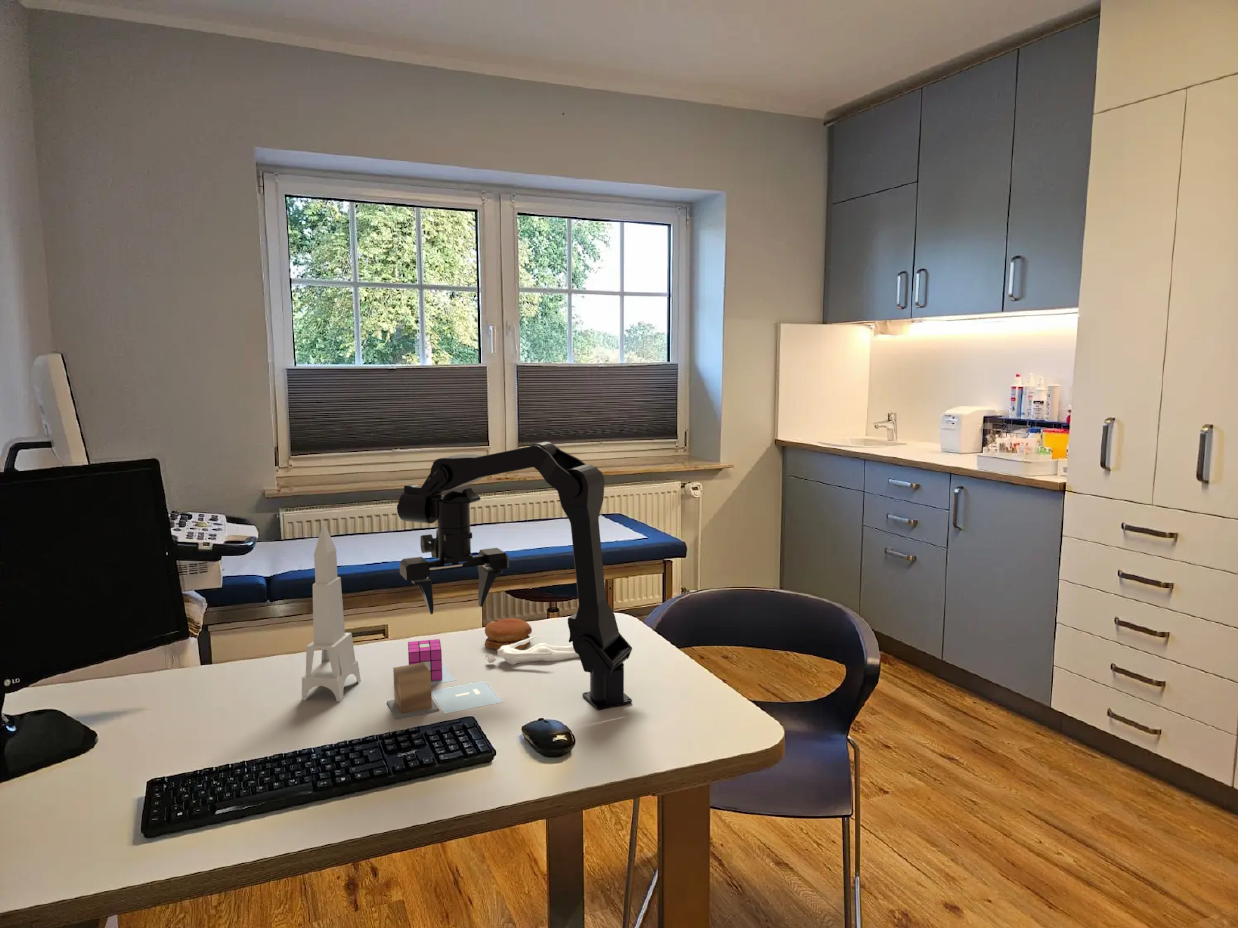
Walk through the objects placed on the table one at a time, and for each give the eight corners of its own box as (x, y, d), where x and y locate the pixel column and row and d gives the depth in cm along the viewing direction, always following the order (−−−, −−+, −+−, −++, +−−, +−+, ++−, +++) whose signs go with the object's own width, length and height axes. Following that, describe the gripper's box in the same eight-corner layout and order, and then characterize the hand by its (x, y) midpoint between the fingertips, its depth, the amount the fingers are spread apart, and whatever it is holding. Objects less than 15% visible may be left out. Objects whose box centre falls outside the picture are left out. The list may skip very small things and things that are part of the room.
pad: (439, 711, 133) (439, 708, 133) (395, 719, 130) (395, 717, 130) (428, 695, 139) (428, 692, 139) (387, 703, 136) (387, 700, 136)
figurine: (602, 650, 166) (480, 654, 157) (604, 633, 165) (482, 636, 157) (619, 669, 156) (490, 674, 148) (621, 650, 156) (491, 655, 147)
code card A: (503, 702, 136) (503, 701, 136) (444, 714, 132) (444, 713, 132) (485, 681, 145) (485, 680, 145) (429, 691, 141) (429, 690, 141)
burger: (524, 653, 159) (524, 630, 158) (478, 651, 160) (477, 629, 159) (536, 636, 168) (535, 615, 168) (492, 634, 170) (492, 613, 169)
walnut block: (431, 707, 133) (430, 672, 133) (401, 713, 131) (399, 678, 130) (424, 696, 138) (423, 662, 137) (394, 701, 136) (393, 667, 135)
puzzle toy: (409, 683, 144) (408, 652, 143) (409, 671, 149) (407, 641, 148) (442, 679, 145) (441, 649, 145) (440, 668, 151) (439, 638, 150)
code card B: (456, 680, 145) (456, 679, 145) (405, 689, 141) (405, 689, 141) (443, 663, 153) (443, 662, 153) (395, 671, 149) (395, 671, 149)
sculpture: (361, 681, 145) (353, 517, 141) (340, 701, 137) (332, 527, 133) (324, 680, 145) (315, 516, 141) (301, 699, 137) (292, 526, 133)
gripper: (488, 513, 156) (490, 591, 159) (390, 522, 148) (394, 605, 150) (509, 523, 147) (510, 606, 149) (405, 534, 138) (409, 622, 140)
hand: (456, 609), depth 147 cm, fingers open, 9 cm apart
